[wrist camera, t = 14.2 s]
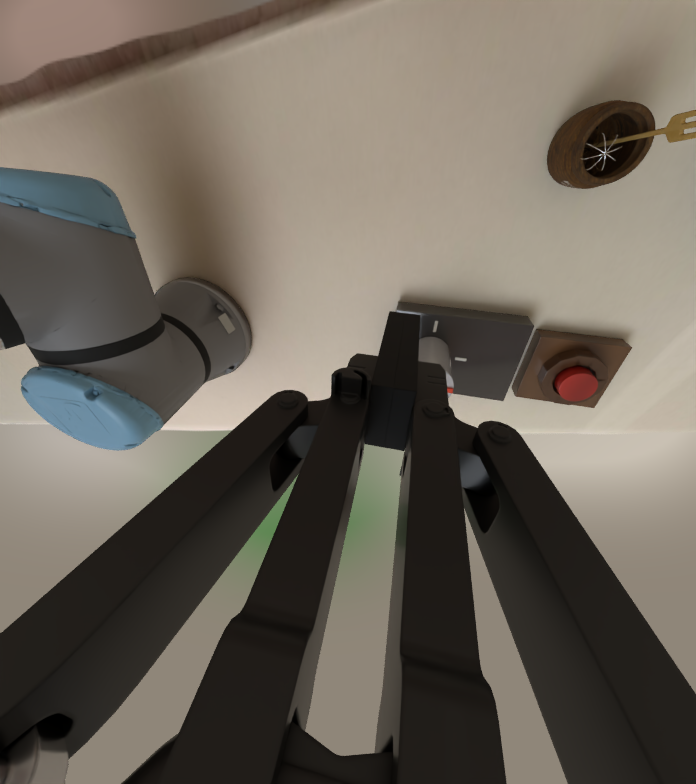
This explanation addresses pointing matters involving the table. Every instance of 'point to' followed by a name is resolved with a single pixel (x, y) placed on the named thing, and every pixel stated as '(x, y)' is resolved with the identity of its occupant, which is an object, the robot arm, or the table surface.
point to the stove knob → (437, 357)
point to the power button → (576, 383)
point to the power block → (567, 364)
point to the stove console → (476, 345)
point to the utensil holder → (608, 143)
